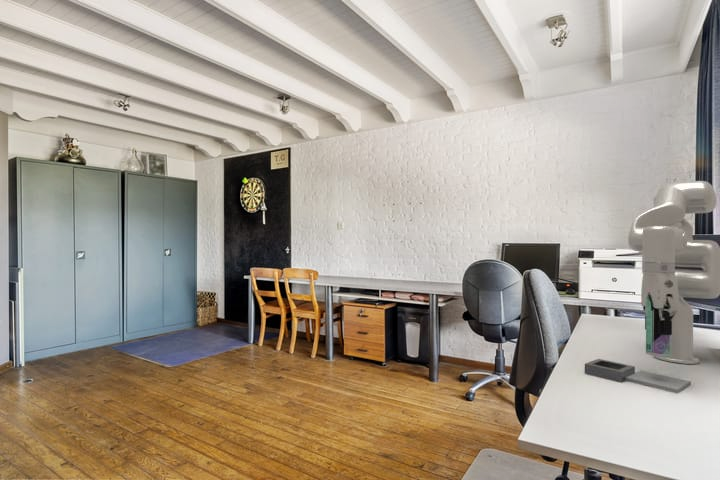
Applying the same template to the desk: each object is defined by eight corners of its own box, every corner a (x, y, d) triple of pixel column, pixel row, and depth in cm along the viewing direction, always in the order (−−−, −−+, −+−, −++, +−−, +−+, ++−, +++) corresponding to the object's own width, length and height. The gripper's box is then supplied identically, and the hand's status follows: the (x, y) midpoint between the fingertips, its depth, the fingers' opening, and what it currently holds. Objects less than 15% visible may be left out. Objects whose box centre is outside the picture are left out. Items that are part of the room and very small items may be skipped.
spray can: (665, 358, 109) (666, 285, 110) (642, 353, 114) (643, 283, 114) (672, 355, 112) (673, 285, 113) (650, 351, 117) (651, 283, 117)
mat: (641, 373, 121) (641, 370, 121) (690, 384, 112) (690, 381, 112) (625, 380, 114) (625, 377, 114) (677, 393, 105) (677, 389, 105)
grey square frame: (598, 368, 126) (598, 358, 126) (634, 376, 118) (635, 366, 118) (584, 373, 120) (584, 363, 120) (621, 382, 112) (621, 372, 112)
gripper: (693, 270, 105) (693, 339, 104) (654, 268, 122) (654, 327, 121) (662, 270, 106) (662, 338, 105) (628, 267, 123) (627, 326, 122)
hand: (658, 331), depth 113 cm, fingers closed on spray can, 5 cm apart
